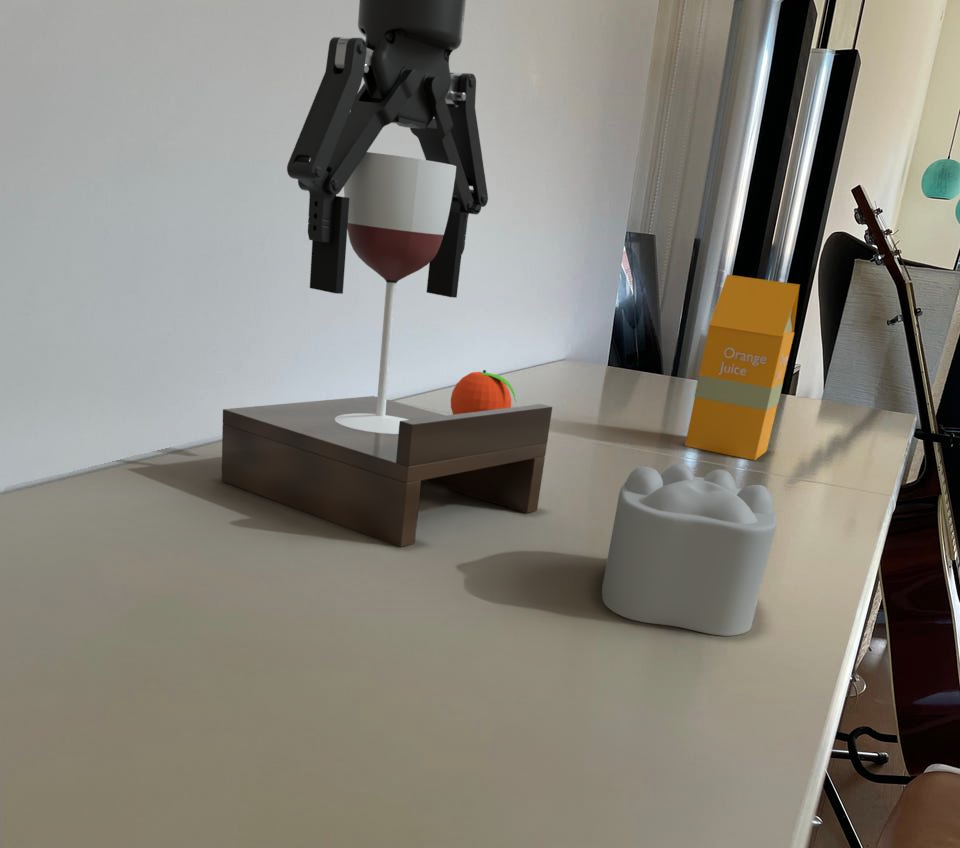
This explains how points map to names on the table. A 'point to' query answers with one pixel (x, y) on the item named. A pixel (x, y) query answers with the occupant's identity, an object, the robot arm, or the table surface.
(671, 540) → the lumpy-topped squat cylinder
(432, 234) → the wineglass
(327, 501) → the shelf
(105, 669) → the table surface
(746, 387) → the orange juice
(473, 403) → the clementine
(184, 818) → the table surface
